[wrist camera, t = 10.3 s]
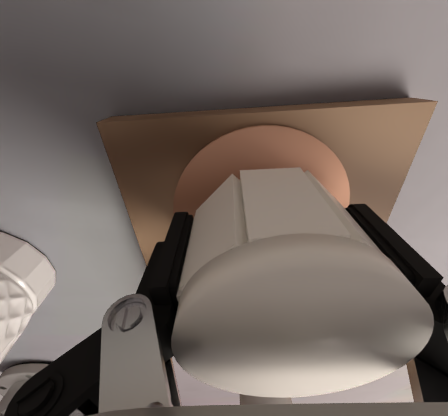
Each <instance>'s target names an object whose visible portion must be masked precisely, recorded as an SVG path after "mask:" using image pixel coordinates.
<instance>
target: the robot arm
mask: <svg viewBox="0 0 448 416" xmlns="http://www.w3.org/2000/svg"><path fill="white" fill-rule="evenodd" d="M345 209H346V210H347V212H348V213H349V214H350V215H351V216H352V217H353V219H354V220H355V221H356V222H357V223H358V225H359V226H360V227H361V228H362V229H363V230H364V232H365V233H366V234H367V235H368V236H369V238H370V239H371V240H372V241H373V242H374V243H375V245H376V246H377V247H378V248H379V249H380V250H381V252H382V253H383V254H384V255H385V256H387V257H388V258H389V259H390V260H391V261H392V262H393V263H394V264H395V265H396V267H397V268H398V269H399V270H400V271H401V272H402V273H403V275H404V276H405V277H406V278H407V279H408V280H409V282H410V283H411V284H412V285H413V286H414V287H415V289H416V290H417V291H418V292H419V293H420V294H421V296H422V297H423V298H424V299H425V301H426V302H427V303H428V304H429V306H430V308H431V311H432V313H433V317H434V327H433V332H432V335H431V337H430V339H429V341H428V343H427V344H426V345H425V347H424V348H423V349H422V351H421V352H420V353H419V354H418V355H416V356H415V357H414V358H413V359H412V360H411V361H409V362H408V363H407V364H406V365H407V369H408V374H409V379H410V384H411V389H412V394H413V399H414V402H411V403H330V404H264V405H209V406H182V403H181V399H180V394H179V390H178V385H177V380H176V376H175V371H174V367H173V362H172V357H173V356H174V355H173V352H172V348H171V337H172V332H173V328H174V323H175V318H176V313H177V308H178V300H177V297H176V296H177V292H178V287H179V283H180V278H181V274H182V269H183V265H184V260H185V256H186V251H187V247H188V242H189V237H190V233H191V228H192V224H193V215H189V214H188V212H175V213H174V216H173V218H172V221H171V224H170V227H169V229H168V232H167V235H166V238H165V241H163V242H157V243H156V245H155V247H154V250H153V252H152V255H151V257H150V260H149V262H148V265H147V267H146V270H145V272H144V274H143V277H142V279H141V282H140V284H139V287H138V289H137V292H136V294H131V295H127V296H124V297H122V298H120V299H119V300H117V301H116V302H115V303H113V304H112V305H111V307H110V308H109V309H108V310H107V311H106V313H105V315H104V317H103V321H102V328H100V329H99V330H97V331H96V332H95V333H93V334H92V335H90V336H89V337H87V338H86V339H85V340H83V341H82V342H80V343H79V344H77V345H76V346H75V347H73V348H72V349H70V350H69V351H68V352H66V353H65V354H63V355H62V356H60V357H59V358H58V359H56V360H55V361H53V362H52V363H50V364H43V363H29V364H20V365H16V366H13V367H10V368H8V369H6V370H5V371H4V372H3V373H2V374H1V376H0V394H1V395H2V396H4V397H3V398H2V400H1V401H0V416H448V285H447V286H445V285H444V284H443V283H442V282H441V280H442V279H443V278H444V277H442V276H441V275H440V274H439V273H438V272H437V271H436V270H435V269H434V268H433V267H432V266H431V265H430V264H429V263H428V262H427V261H426V260H424V259H423V258H422V257H421V256H420V255H419V254H418V253H417V252H416V251H415V250H414V249H413V248H412V247H411V246H410V245H409V244H408V243H407V242H405V241H404V240H403V239H402V238H401V237H400V236H399V235H398V234H397V233H396V232H395V231H394V230H393V229H392V228H391V227H390V226H389V225H388V224H386V223H385V222H384V221H383V220H382V219H381V218H380V217H379V216H378V215H377V214H376V213H375V212H374V211H373V210H372V209H371V208H370V207H369V206H367V205H366V204H350V205H349V206H348V207H347V208H345Z"/></svg>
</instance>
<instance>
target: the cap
mask: <svg viewBox="0 0 448 416" xmlns="http://www.w3.org/2000/svg"><path fill="white" fill-rule="evenodd" d="M176 297H177V300H178V308H177V313H176V318H175V323H174V328H173V332H172V337H171V348H172V352H173V355H174V357H175V359H176V361H177V362H178V364H179V365H180V366H181V367H182V368H183V369H184V370H185V371H186V372H187V373H188V374H190V375H191V376H193V377H194V378H196V379H198V380H199V381H201V382H203V383H205V384H208V385H210V386H213V387H215V388H218V389H222V390H225V391H229V392H233V393H238V394H243V395H250V396H258V397H276V398H287V397H305V396H315V395H322V394H328V393H334V392H338V391H343V390H347V389H351V388H354V387H358V386H361V385H364V384H367V383H370V382H372V381H375V380H377V379H380V378H382V377H384V376H386V375H388V374H390V373H392V372H394V371H396V370H397V369H399V368H401V367H402V366H404V365H405V364H407V363H408V362H409V361H411V360H412V359H413V358H414V357H415V356H416V355H418V354H419V353H420V352H421V351H422V349H423V348H424V347H425V345H426V344H427V343H428V341H429V339H430V337H431V335H432V332H433V327H434V317H433V313H432V311H431V308H430V306H429V304H428V303H427V302H426V301H425V299H424V298H423V297H422V296H421V294H420V293H419V292H418V291H417V290H416V289H415V287H414V286H413V285H412V284H411V283H410V282H409V280H408V279H407V278H406V277H405V276H404V275H403V273H402V272H401V271H400V270H399V269H398V268H397V267H396V265H395V264H394V263H393V262H392V261H391V260H390V259H389V258H388V257H387V256H385V255H384V254H383V253H382V252H381V250H380V249H379V248H378V247H377V246H376V245H375V243H374V242H373V241H372V240H371V239H370V238H369V236H368V235H367V234H366V233H365V232H364V230H363V229H362V228H361V227H360V226H359V225H358V223H357V222H356V221H355V220H354V219H353V217H352V216H351V215H350V214H349V213H348V212H347V210H346V209H345V208H344V207H343V206H342V205H341V203H340V202H339V201H338V200H337V199H336V198H335V197H334V196H333V195H332V194H331V193H330V192H329V191H328V190H327V189H326V188H325V187H324V186H323V185H322V184H321V183H320V182H319V181H318V180H317V179H316V178H315V177H314V176H313V175H312V174H311V173H310V172H309V171H308V170H307V171H306V172H305V173H304V172H303V170H302V169H301V168H300V167H295V168H275V169H256V170H240V180H239V179H238V178H237V177H236V176H234V175H233V174H231V175H230V176H229V177H228V178H227V180H226V181H225V182H224V183H223V184H222V185H221V186H220V187H219V188H218V189H217V190H216V191H215V192H214V193H213V194H212V195H211V196H210V197H209V198H208V199H207V200H206V201H205V202H204V203H203V204H202V205H201V206H200V207H199V208H198V209H197V210H196V213H195V216H194V219H193V224H192V228H191V233H190V237H189V242H188V247H187V251H186V256H185V260H184V265H183V269H182V274H181V278H180V283H179V287H178V292H177V296H176Z"/></svg>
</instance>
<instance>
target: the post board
mask: <svg viewBox="0 0 448 416" xmlns="http://www.w3.org/2000/svg"><path fill="white" fill-rule="evenodd" d="M437 102H438V101H432V100H425V99H417V98H396V99H380V100H364V101H348V102H333V103H317V104H301V105H285V106H269V107H254V108H238V109H222V110H206V111H190V112H175V113H159V114H143V115H127V116H112V117H109V118H107V119H104V120H101V121H99V122H96V124H97V127H98V129H99V132H100V135H101V138H102V141H103V144H104V146H105V149H106V152H107V155H108V158H109V161H110V163H111V166H112V169H113V172H114V175H115V178H116V180H117V183H118V186H119V189H120V192H121V195H122V197H123V200H124V203H125V206H126V209H127V211H128V214H129V217H130V220H131V223H132V226H133V228H134V231H135V234H136V237H137V240H138V243H139V245H140V248H141V251H142V254H143V257H144V260H145V262H146V265H148V262H149V260H150V257H151V255H152V252H153V250H154V247H155V245H156V243H157V242H163V241H165V238H166V235H167V232H168V229H169V227H170V224H171V221H172V218H173V216H174V213H175V212H188V214H189V215H193V219H194V216H195V213H196V210H197V209H198V208H199V207H200V206H201V205H202V204H203V203H204V202H205V201H206V200H207V199H208V198H209V197H210V196H211V195H212V194H213V193H214V192H215V191H216V190H217V189H218V188H219V187H220V186H221V185H222V184H223V183H224V182H225V181H226V180H227V178H228V177H229V176H230V175H231V174H233V175H234V176H236V177H237V178H238V179H239V180H240V170H256V169H275V168H295V167H300V168H301V169H302V170H303V172H304V173H305V172H306V171H307V170H308V171H309V172H310V173H311V174H312V175H313V176H314V177H315V178H316V179H317V180H318V181H319V182H320V183H321V184H322V185H323V186H324V187H325V188H326V189H327V190H328V191H329V192H330V193H331V194H332V195H333V196H334V197H335V198H336V199H337V200H338V201H339V202H340V203H341V205H342V206H343V207H344V208H347V207H348V206H349V205H350V204H366V205H367V206H369V207H370V208H371V209H372V210H373V211H374V212H375V213H376V214H377V215H378V216H379V217H380V218H381V219H382V220H383V221H384V222H385V223H387V221H388V218H389V216H390V213H391V211H392V209H393V206H394V204H395V202H396V199H397V197H398V194H399V192H400V190H401V187H402V185H403V183H404V180H405V178H406V176H407V173H408V171H409V168H410V166H411V164H412V161H413V159H414V157H415V154H416V152H417V149H418V147H419V145H420V142H421V140H422V138H423V135H424V133H425V130H426V128H427V126H428V123H429V121H430V119H431V116H432V114H433V111H434V109H435V107H436V104H437ZM264 404H292V400H291V397H287V398H276V397H258V396H250V395H243V394H240V405H264Z"/></svg>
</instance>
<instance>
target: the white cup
mask: <svg viewBox="0 0 448 416" xmlns="http://www.w3.org/2000/svg"><path fill="white" fill-rule="evenodd" d="M55 276H56V271H55V269H54V268H53V266H52V265H51V263H50V262H49V260H48V259H47V257H46V256H45V255H43V254H42V253H41V252H39V251H38V250H37V249H36V248H34V247H33V246H31V245H30V244H29V243H27V242H25V241H23V240H20V239H18V238H16V237H13V236H11V235H8V234H6V233H3V232H0V364H1V362H2V361H3V359H4V358H5V357H6V355H7V354H8V352H9V351H10V349H11V347H12V346H13V345H14V343H15V342H16V341H17V339H18V338H19V337H20V335H21V334H22V332H23V331H24V329H25V328H26V326H27V325H28V323H29V320H30V318H31V317H32V314H33V313H34V312H35V311H36V310H37V308H38V307H39V306H40V304H41V303H42V302H43V300H44V299H45V298H46V296H47V295H48V294H49V292H50V291H51V290H52V288H53V287H54V285H55Z"/></svg>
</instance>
